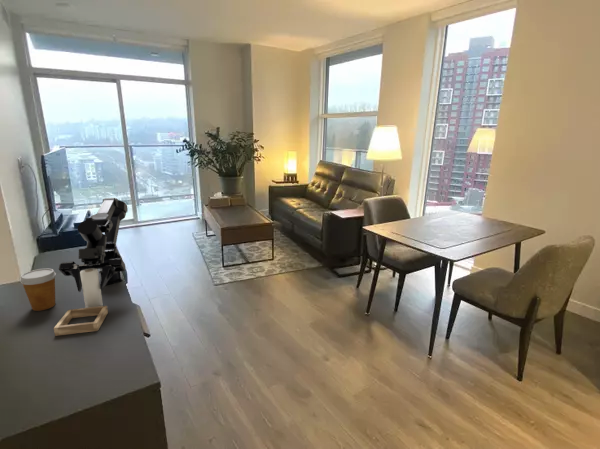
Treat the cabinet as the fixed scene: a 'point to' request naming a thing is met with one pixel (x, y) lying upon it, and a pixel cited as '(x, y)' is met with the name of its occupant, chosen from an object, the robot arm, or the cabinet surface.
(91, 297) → the paper roll
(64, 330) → the oak holder
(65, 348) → the cabinet surface
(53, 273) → the disposable coffee cup
